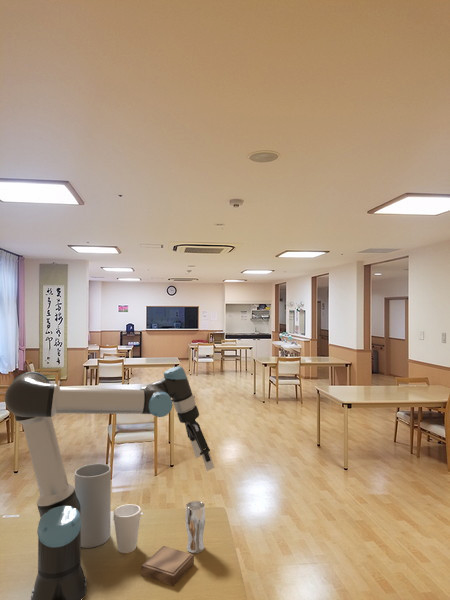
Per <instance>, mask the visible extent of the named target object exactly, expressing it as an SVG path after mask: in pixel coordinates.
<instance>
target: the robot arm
mask: <svg viewBox="0 0 450 600" xmlns="http://www.w3.org/2000/svg"><path fill="white" fill-rule="evenodd" d="M50 382H51V381H50V380H49V379H48V378H47V377H46V376H45V375H44V374H42V373H40V372H37V371H29V372H25V373H22V374H20V375H17V377H15V378H14V380H13V381H12V382H11V384H10V385H9V386H8V387H7V389H6V390H5V394H4V403H5V406H6V408H7V410H8V411H9V412H10V413H11V414H13V415H14V419H15V422H17V423H19V424H21V425H22V427H23V431H24V436H25V439H26V444H27V448H28V452H29V457H30V459H31V464H32V468H33V471H34V476H35V479H36V483H37V487H38V491H39V497H38V499H37V500H36V505H37V509H38V513H39V521H38V526H37V542H38V543H37V574H36V578H35V581H34V586H33V588H32V590H31V596H30V600H81V599H82V598H83V597H84V596H86V595H85V594H87V591H88V590H87V588H88V587H87V585H88V583H87V578H86V576H85V572H84V571H83V567H82V563H81V561H82V560H81V552H82V551H81V549H82V547H81V517H80V514H81V505H80V502H79V500H78V498H77V496H76V493H75V485H72V484H71V483H70V484H69V482H68V477H67V474H66V470H65V465H64V462H63V459H62V454H61V450H60V446H59V442H58V437H57V434H56V431H55V427H54V423H53V419H52V417H54V416H55V415H57V414H82V415H83V414H92V415H93V414H98V415H99V414H100V415H102V414H103V415H104V414H106V415H109V414H111V415H115V414H116V415H121V414H122V415H124V414H126V415H128V414H129V415H153V417H157V418H163V417H165V416H167V415H169V414H170V412H171V411H172V408H173V407H174V409H175V412H176V413H177V417H178V420H179V422H180V423H181V424H184V425H185V430H186V434H187V438H188V439H189V441H190V444H191V446H192V449H193V452H194V456H195V458H196V459H197V458H199V457H201V458H202V460H203V463H204V467H205V469H206V472H208V471H210V470H213V469H214V468H215V465H214V462H213V460H212V457H211V454H210V451H211V449H210V448H209V446H208V442H207V441H206V438H205V436H204V434H203V432H202V428H201V426H200V424H199V423H198V421H196V419H198V418H199V417H200V412H199V409H198V406H197V404H196V401H195V398H196V396H195V395H193V391H192V389H191V386H190V383H189V379H188V376H187V374H186V372H185V369H184V367H183V366H174V367H170V368H169V369H167V370H165V371H164V372H163V378H161V379H159V380H156V381H154V382H151V383H149V384H146V385H144V386H143V385H142V386H141V387H139V388H137V389H122V388H96V387H95V388H93V387H92V388H91V387H84V388H83V387H65V386H64V387H62V386H59V384H57V383H50ZM84 598H85V597H84ZM84 598H83V599H84ZM83 599H82V600H83Z"/></svg>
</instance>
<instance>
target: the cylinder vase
mask: <svg viewBox="0 0 450 600" xmlns="http://www.w3.org/2000/svg"><path fill="white" fill-rule="evenodd" d="M111 473H112V468H111V466H110V465H108V464H105V463H91V464H86V465H83V466H80V467H79V468H77V469H75V471H74V489H75V493H76V496H77V498H78V500H79V502H80V505H81V514H80V517H81V548H83V549H87V548H88V549H89V548H90V549H91V548H97V547H98V546H102V545H104V544H105V543H106V542H107V541H108V540H109V539H110V537H111V514H112V513H111V511H112V510H111V504H112V503H111V500H112V499H111V494H112V493H111V491H112V490H111V489H112V487H111V485H112V484H111V482H112V481H111V475H112V474H111Z"/></svg>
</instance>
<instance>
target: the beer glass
mask: <svg viewBox="0 0 450 600" xmlns="http://www.w3.org/2000/svg"><path fill="white" fill-rule="evenodd" d="M205 506H206V505H205V503H204V502H203V501H201V500H192V501H189V502H187V503H186V504H185V518H184V519H185V528H186V532H187V533H186V534H187V545H186V550H187V552H188V553H189V554H199V553H201V552H203V551H204V550H205V545H204V544H205V543H204V530H205V527H206V526H205V525H206V524H205V523H206V507H205Z"/></svg>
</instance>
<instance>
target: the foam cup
mask: <svg viewBox="0 0 450 600" xmlns="http://www.w3.org/2000/svg"><path fill="white" fill-rule="evenodd" d="M141 513H142V510H141V506H139V505H137V504H134V503H130V504H129V503H127V504H122V505H120V506H118V507H116V508H114V509H113V522H114V530H115V536H116V545H117V547H116V548H117V551H118V552H119V553H123V554H127V553H129V554H130V553H132V552H133V551H135V550H136V548H137V542H138V535H139V530H140V528H139V527H140V520H141V515H142V514H141Z"/></svg>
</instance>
